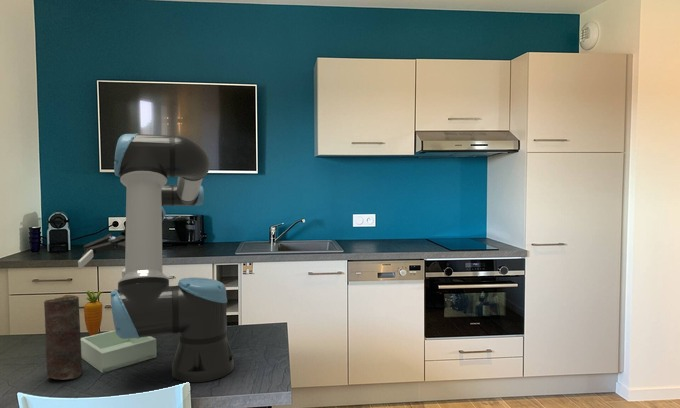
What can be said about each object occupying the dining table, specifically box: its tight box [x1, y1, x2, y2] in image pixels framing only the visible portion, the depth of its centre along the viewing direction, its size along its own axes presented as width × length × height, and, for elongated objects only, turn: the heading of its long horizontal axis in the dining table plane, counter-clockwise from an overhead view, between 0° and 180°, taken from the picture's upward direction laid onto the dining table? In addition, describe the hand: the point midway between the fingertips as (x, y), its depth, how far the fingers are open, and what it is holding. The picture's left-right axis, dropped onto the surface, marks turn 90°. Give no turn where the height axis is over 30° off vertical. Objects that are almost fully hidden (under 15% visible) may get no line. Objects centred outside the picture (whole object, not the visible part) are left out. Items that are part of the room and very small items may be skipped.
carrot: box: [83, 290, 103, 336], centre depth 135 cm, size 5×5×15 cm
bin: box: [81, 329, 158, 374], centre depth 121 cm, size 16×14×5 cm
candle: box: [43, 294, 83, 381], centre depth 108 cm, size 8×7×20 cm
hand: (101, 270), depth 134 cm, fingers open, 13 cm apart
